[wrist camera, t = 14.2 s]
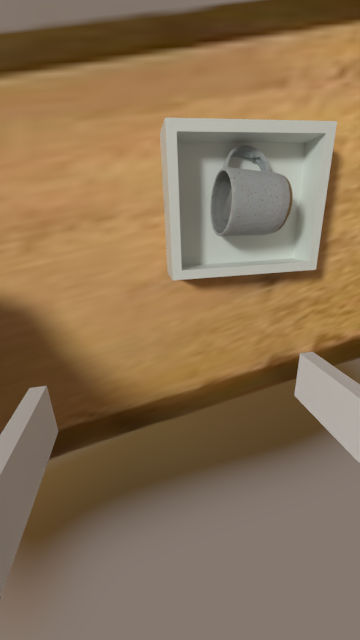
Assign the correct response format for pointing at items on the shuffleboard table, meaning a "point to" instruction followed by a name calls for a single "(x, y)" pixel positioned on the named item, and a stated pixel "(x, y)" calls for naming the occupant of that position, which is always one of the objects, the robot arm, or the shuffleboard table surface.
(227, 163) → the ceramic mug
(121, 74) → the shuffleboard table surface
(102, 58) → the shuffleboard table surface
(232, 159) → the bin
